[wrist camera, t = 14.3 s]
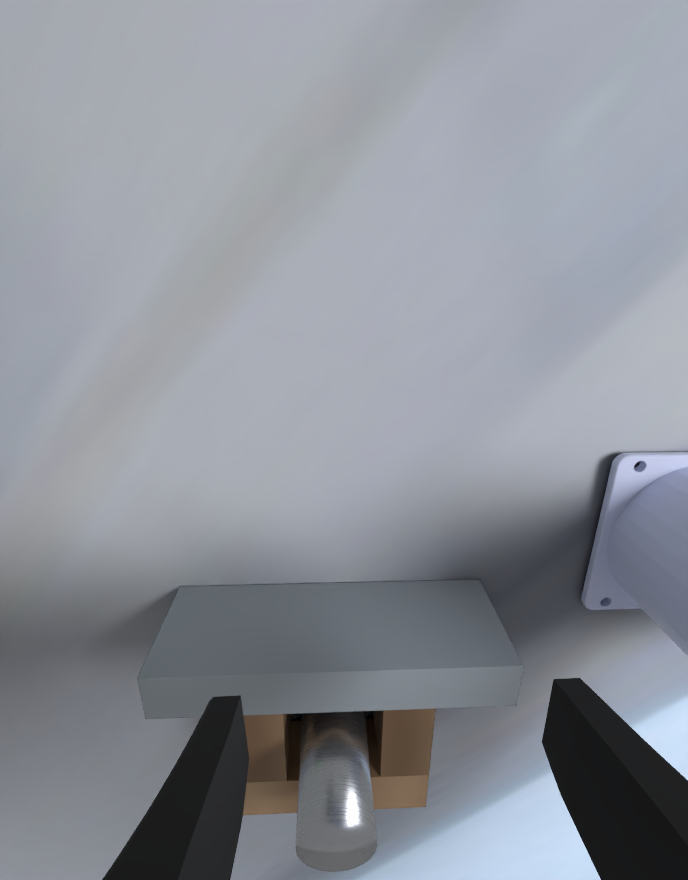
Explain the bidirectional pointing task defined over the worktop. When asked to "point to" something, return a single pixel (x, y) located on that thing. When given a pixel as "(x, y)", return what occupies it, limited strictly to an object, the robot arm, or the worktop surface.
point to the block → (389, 747)
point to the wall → (330, 649)
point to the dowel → (335, 792)
